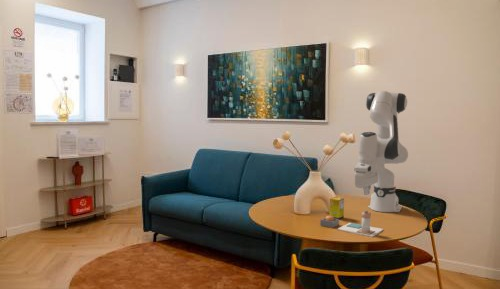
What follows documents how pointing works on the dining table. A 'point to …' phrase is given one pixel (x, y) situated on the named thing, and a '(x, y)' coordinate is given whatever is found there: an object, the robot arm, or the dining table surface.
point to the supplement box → (337, 207)
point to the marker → (366, 221)
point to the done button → (330, 218)
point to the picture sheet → (359, 229)
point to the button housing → (329, 222)
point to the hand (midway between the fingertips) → (366, 194)
